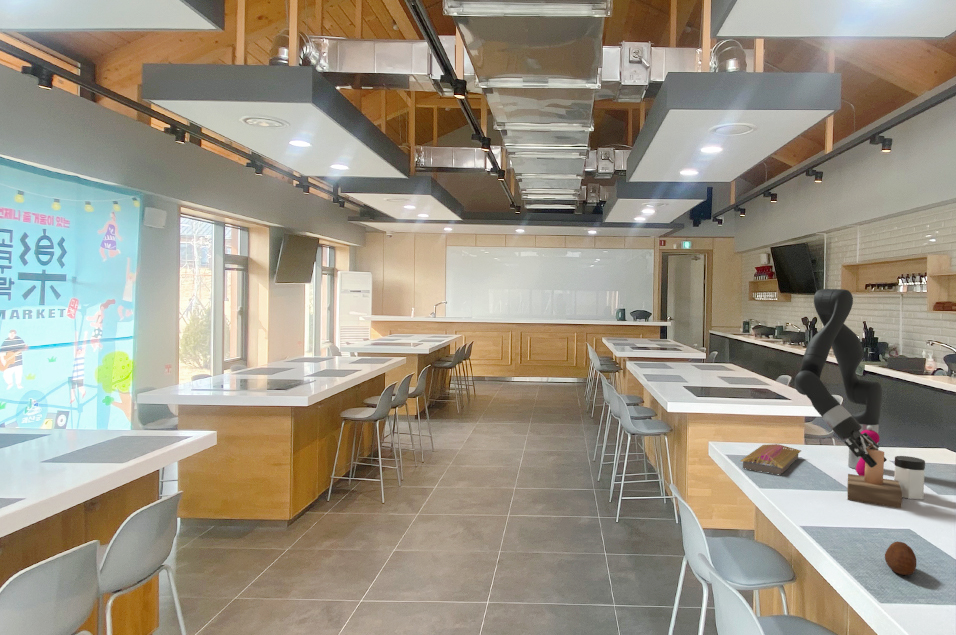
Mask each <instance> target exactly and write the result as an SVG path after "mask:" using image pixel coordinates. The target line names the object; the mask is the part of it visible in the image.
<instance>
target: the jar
mask: <svg viewBox="0 0 956 635" xmlns="http://www.w3.org/2000/svg"><path fill="white" fill-rule="evenodd" d="M925 469H926V460H924V459H922V458H919V457H915V456H908V455H907V456H906V455H896V456H894V478H893V480H896V481H899V484H900V487H901V490H902V498H904V499H907V498H908V499H907V500H924V492H925V491H924V489H925V472H926V471H925Z"/></svg>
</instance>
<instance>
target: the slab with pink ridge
mask: <svg viewBox="0 0 956 635" xmlns="http://www.w3.org/2000/svg"><path fill="white" fill-rule="evenodd" d="M801 452H802V450H800V449H796V448H793V447H790V446H786V445H782V444H780V443H779V444H778V443H777V444H776V443H775V444H772V443H771V444H770V443H769V444H762V445H760V446H759V447H758V448H756V449H755V450H753V451H752V452H750V453H749V454H747V455H746V456H745V457H743V458H742V459H740V462H742V469H743V468H746V469H751V470H756V471H755V472H757V471H762V472H769V473H773V474H772V475H774V474H779V475H778V476H781V475H782V474H784V472H786V470H787V469H788V468H790V467H791V466H792V465H793V464H794V463H795V462H796V461H797V460H798V459H799V454H800V453H801ZM758 457H759V458H758ZM755 460H756V461H755ZM795 460H796V461H795ZM794 461H795V462H794ZM752 462H753V463H752ZM793 462H794V463H793ZM792 463H793V464H792ZM791 464H792V465H791ZM790 465H791V466H790ZM789 466H790V467H789ZM751 470H750V471H751ZM762 472H761V473H762ZM781 473H782V474H781ZM780 474H781V475H780Z"/></svg>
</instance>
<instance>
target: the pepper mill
mask: <svg viewBox="0 0 956 635" xmlns="http://www.w3.org/2000/svg"><path fill="white" fill-rule="evenodd" d="M872 429H873V427H872V426H867V430H863V431H862V432H861V434H863V433H867V434H868V435H869V436H870V437H871V438H872V440H873V441H874V442H875V443H876V444H877V443H878V444H879V442H880V441H881V440H880V439H881V438H880V435H879V432H878V433H877V432H875V431H872ZM873 445H874V444H873ZM855 472H856V474H857V475H860V476H865V461H864V460H863V459H862V458H860V460H859V461H858V463H857V465H856V469H855Z"/></svg>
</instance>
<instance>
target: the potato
mask: <svg viewBox="0 0 956 635" xmlns="http://www.w3.org/2000/svg"><path fill="white" fill-rule="evenodd" d="M884 560H885V562H886V566H888V567H889V568H890V569H891V571H893V572H894V573H896V574H898V575H902V576H910V575H913V574H914V573H915V571H916V568H917V557H916V554H915V552H914V550H913V548H911V547H910V546H909V545H908V544H907V543H905V542H903V541H894V542H892V543H891V544H889V547H888V548H887V549H886V551H885V553H884Z"/></svg>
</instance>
